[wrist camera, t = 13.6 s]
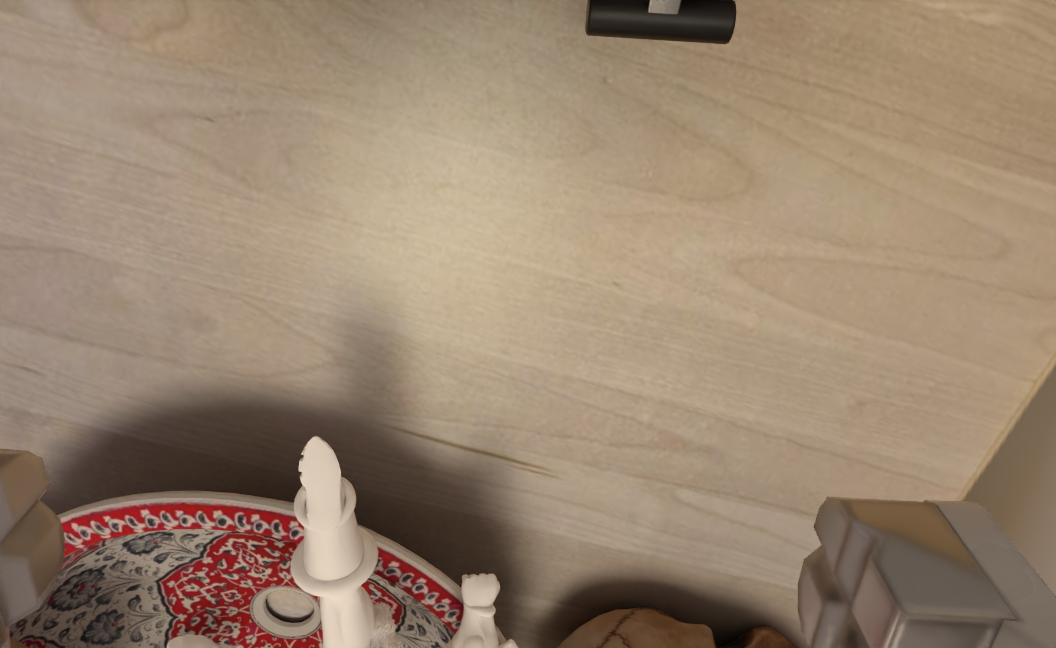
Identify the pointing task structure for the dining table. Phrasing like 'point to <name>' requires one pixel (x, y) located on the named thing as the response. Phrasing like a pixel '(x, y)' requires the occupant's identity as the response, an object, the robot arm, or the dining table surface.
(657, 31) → the switch lever
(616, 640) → the coin bank
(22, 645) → the toy food set
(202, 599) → the ceramic bowl
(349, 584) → the figurine
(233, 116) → the dining table surface
